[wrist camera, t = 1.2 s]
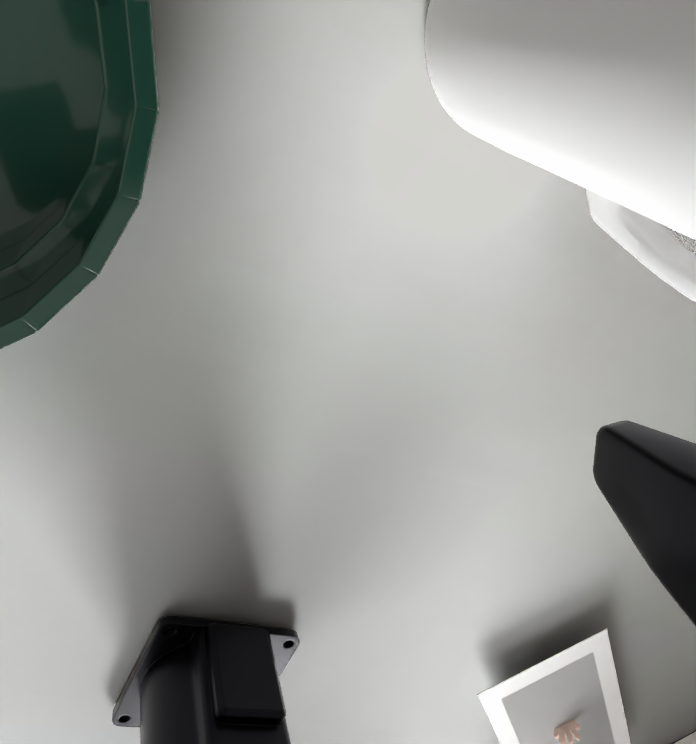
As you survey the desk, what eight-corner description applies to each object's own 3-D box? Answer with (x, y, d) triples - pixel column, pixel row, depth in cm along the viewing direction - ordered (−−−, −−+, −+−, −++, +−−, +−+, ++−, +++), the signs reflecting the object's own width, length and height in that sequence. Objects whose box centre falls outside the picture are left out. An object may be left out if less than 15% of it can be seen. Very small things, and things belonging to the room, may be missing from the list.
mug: (380, -43, 17) (718, -97, 7) (599, -155, 17) (1222, -357, 7) (478, 269, 23) (745, 479, 13) (644, 182, 23) (1033, 323, 13)
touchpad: (594, 612, 36) (619, 645, 34) (621, 734, 44) (642, 766, 42) (468, 676, 35) (487, 713, 34) (520, 787, 44) (536, 821, 42)
